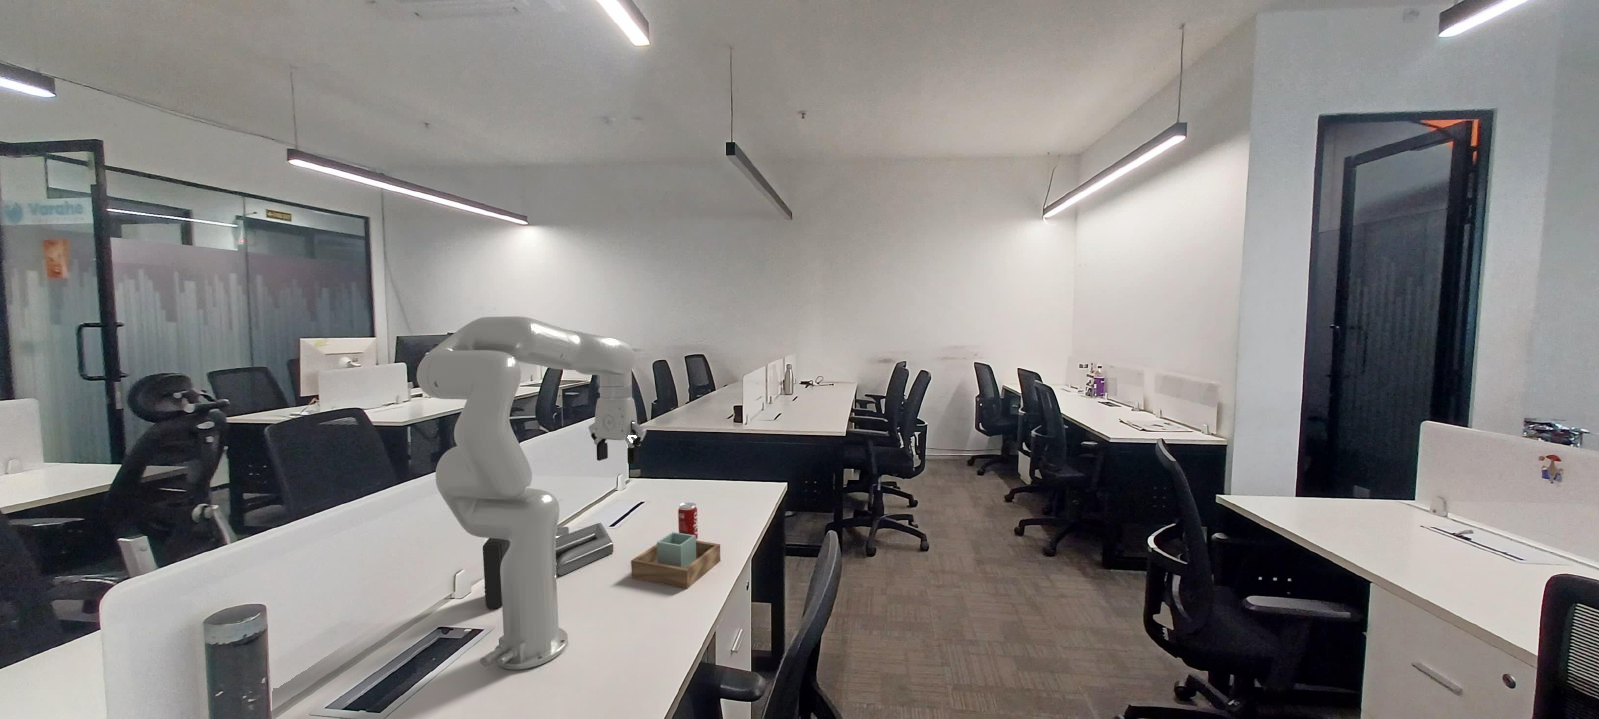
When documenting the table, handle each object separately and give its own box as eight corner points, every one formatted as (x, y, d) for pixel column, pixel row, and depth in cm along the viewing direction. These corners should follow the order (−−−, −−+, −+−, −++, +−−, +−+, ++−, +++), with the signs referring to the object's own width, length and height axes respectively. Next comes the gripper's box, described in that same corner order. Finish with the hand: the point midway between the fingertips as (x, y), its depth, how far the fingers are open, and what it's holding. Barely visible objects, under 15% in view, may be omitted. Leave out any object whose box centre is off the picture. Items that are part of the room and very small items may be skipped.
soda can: (691, 541, 156) (690, 500, 156) (701, 546, 153) (700, 504, 152) (675, 546, 153) (674, 505, 152) (685, 552, 149) (684, 509, 148)
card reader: (495, 591, 128) (492, 529, 127) (514, 588, 129) (511, 527, 128) (483, 611, 119) (479, 544, 118) (503, 608, 120) (500, 542, 119)
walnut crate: (687, 588, 129) (686, 570, 128) (631, 577, 134) (631, 560, 134) (720, 560, 143) (720, 544, 143) (669, 552, 149) (668, 536, 149)
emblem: (536, 518, 162) (629, 518, 162) (537, 535, 163) (629, 535, 162) (480, 559, 134) (591, 558, 134) (481, 580, 135) (592, 579, 134)
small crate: (681, 573, 134) (680, 545, 134) (657, 569, 137) (656, 542, 136) (696, 561, 141) (695, 535, 140) (673, 557, 143) (672, 531, 143)
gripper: (578, 393, 135) (579, 461, 135) (633, 395, 128) (635, 467, 128) (600, 390, 141) (601, 455, 142) (654, 392, 135) (655, 460, 135)
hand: (617, 461), depth 135 cm, fingers open, 9 cm apart
